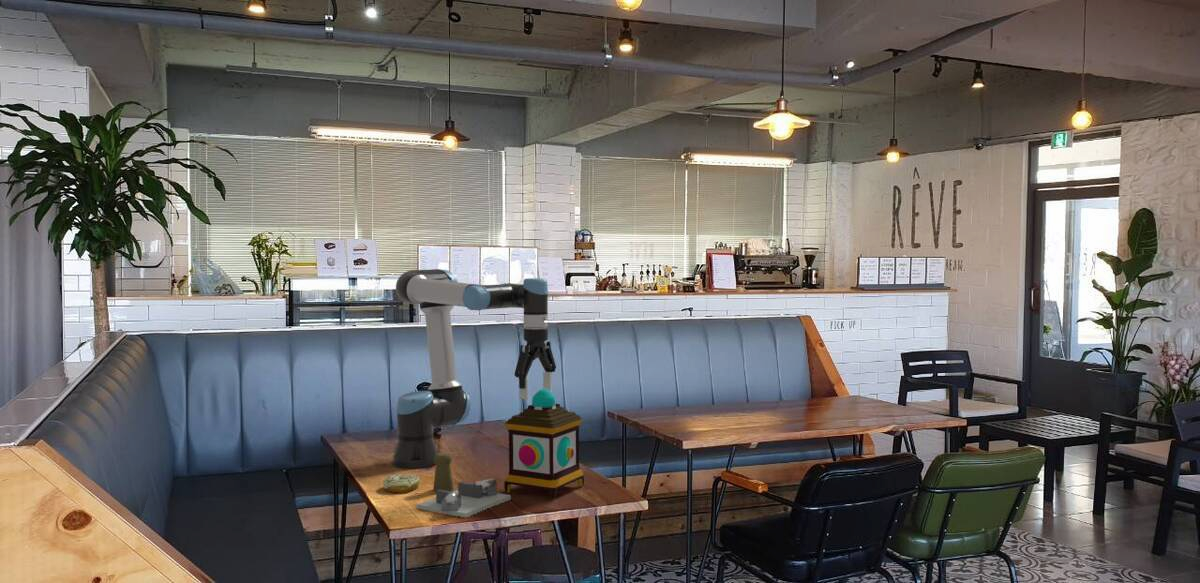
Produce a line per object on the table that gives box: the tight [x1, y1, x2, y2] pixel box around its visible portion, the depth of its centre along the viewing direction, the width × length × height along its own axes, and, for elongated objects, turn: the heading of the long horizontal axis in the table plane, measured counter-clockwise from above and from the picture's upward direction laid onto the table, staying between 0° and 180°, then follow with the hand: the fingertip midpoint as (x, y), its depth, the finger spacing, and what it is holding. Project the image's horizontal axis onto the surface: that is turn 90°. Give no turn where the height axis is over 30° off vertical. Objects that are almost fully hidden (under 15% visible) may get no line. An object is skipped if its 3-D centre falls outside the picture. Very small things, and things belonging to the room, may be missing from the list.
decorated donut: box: [382, 473, 421, 494], centre depth 263 cm, size 10×11×4 cm
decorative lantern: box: [503, 388, 585, 500], centre depth 261 cm, size 20×20×30 cm
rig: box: [416, 481, 512, 518], centre depth 247 cm, size 17×20×5 cm
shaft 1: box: [441, 490, 461, 511], centre depth 238 cm, size 5×4×4 cm
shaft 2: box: [473, 477, 498, 497], centre depth 252 cm, size 6×4×4 cm
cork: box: [432, 452, 455, 493], centre depth 261 cm, size 6×6×11 cm
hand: (535, 395), depth 276 cm, fingers open, 13 cm apart
